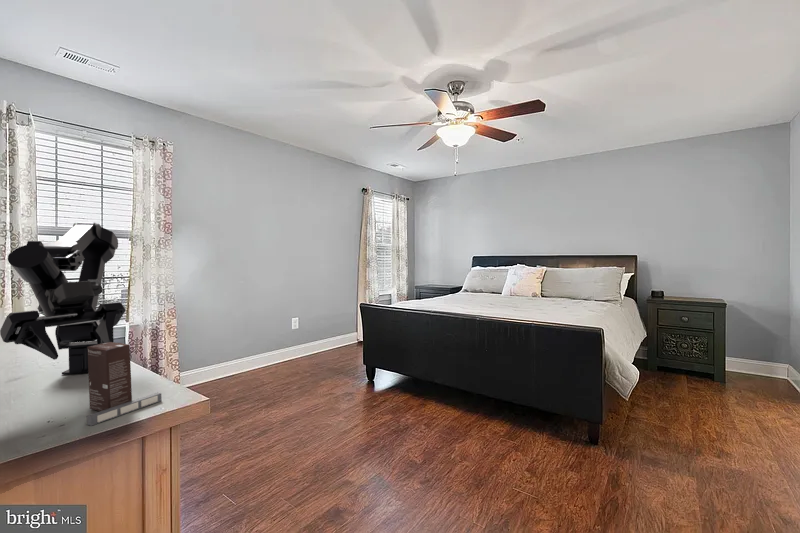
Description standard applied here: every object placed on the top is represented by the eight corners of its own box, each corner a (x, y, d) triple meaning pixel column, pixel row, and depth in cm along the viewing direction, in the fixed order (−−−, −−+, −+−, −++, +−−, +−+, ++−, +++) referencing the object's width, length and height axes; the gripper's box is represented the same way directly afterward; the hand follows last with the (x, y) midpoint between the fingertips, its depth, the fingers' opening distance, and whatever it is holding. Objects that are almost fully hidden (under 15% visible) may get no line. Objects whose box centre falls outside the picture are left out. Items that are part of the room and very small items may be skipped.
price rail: (87, 424, 63) (86, 415, 63) (157, 399, 74) (157, 392, 74) (91, 425, 63) (91, 417, 63) (162, 400, 74) (161, 393, 74)
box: (87, 410, 69) (85, 346, 69) (113, 401, 73) (112, 341, 73) (107, 415, 67) (105, 348, 67) (133, 406, 71) (132, 343, 71)
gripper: (5, 268, 67) (37, 335, 62) (119, 266, 84) (151, 318, 79) (-13, 309, 70) (16, 375, 66) (100, 299, 87) (130, 351, 83)
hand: (85, 352), depth 74 cm, fingers open, 9 cm apart
